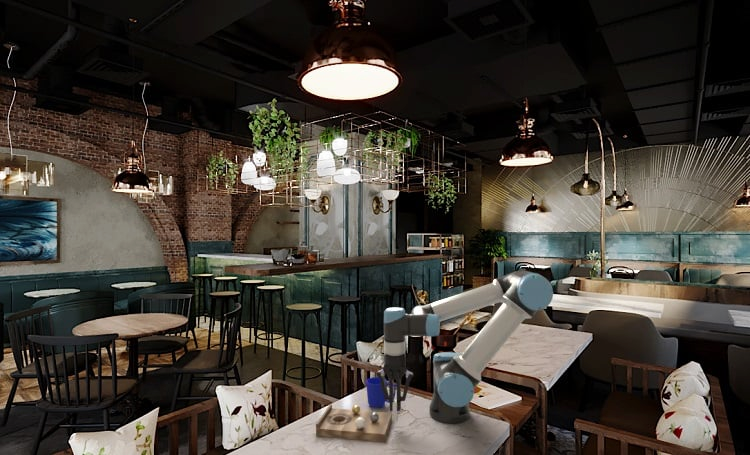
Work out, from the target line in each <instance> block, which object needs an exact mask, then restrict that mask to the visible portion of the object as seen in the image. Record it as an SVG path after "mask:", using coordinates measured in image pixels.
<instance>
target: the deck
mask: <svg viewBox="0 0 750 455" xmlns="http://www.w3.org/2000/svg"><path fill="white" fill-rule="evenodd" d="M374 412H375V413H377V414H378V415H379V420H378V421H377V422H372V421H371V420H370V415H371V414H372V413H374ZM359 417H361V418H363V419H364V420H365V426H364V427H363V428H361V429H359V428H357V427H356V425H355V421H356V419H357V418H359ZM392 422H393V412H385V411H383V412H382V411H373V410H372V411H368V410H360V412H359V413H358V414H354V413H353V412H352V409H347V408H346V409H345V408H334V407H333V404H332V403H331V404H328V406H327V408H326V409H325V411H324V412H323V413H322V415H321V417H320V418H319V419H318V421H317V422H316V423H315V436H316V437H327V438H338V439H349V440H358V441H359V440H360V441H361V440H362V441H371V442H380V443H381V442H383V443H385V442H386V439H387V436H388V433H389V430H390V427H391V424H392Z"/></svg>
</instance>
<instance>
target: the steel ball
mask: <svg viewBox="0 0 750 455" xmlns="http://www.w3.org/2000/svg"><path fill="white" fill-rule="evenodd" d="M373 412H374V413H372V414H371V415H370V420H371V421H372V422H377V421H378V420H379V415H378V414H377V413H375V412H376V411H373Z"/></svg>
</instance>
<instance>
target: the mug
mask: <svg viewBox="0 0 750 455" xmlns="http://www.w3.org/2000/svg"><path fill="white" fill-rule="evenodd" d="M365 381H366V382H365V383H366V384H365V385H366V393H367V394H366V396H367V403H368V404H367V405H368V406H369V407H370V408H373V409H380V408H381V409H382V408H383V407H385V404H386V403H389V404H390V402H389V401H388V400H385V399H384V395H383V391H382V387H381V383H380V379H379V377H378V376H376V377H375V376H374V377H370V378H367V379H366V380H365ZM385 382H386V386H387V387H388V386H389V382H387V379H386V378H385ZM396 393H397V385H396V383H394V399H395V397H396Z"/></svg>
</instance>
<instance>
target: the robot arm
mask: <svg viewBox="0 0 750 455" xmlns="http://www.w3.org/2000/svg"><path fill="white" fill-rule="evenodd" d="M553 298H554V291H553V286H552V284H551V282H550V281H549V280H548V279H547V278H546V277H544V276H543V275H541V274H540V273H537V272H532V271H529V270H517V271H513V272H510V273H507V274H505V275H503V276H500V277H498V278H495V279H493V282H491V283H488V284H485V285H482V286H479V287H475V288H473V289H471V290H470V289H469V290H466V291H463V292H461V293H459V294H455V295H453V296H449V297H447V298H443V299H440V300H437V301H434V302H432V303H428V304H425V305H416V306H414V307H413V309H412V310H411V313H406V310H405V308H403V307H388V308H386V309H385V310H384V311H383V351H384V354H383V358H384V360H383V367H382V368H381V370H380V369H378V370H377V373H376V377H379V379H380V383H381V387H382V391H383V395H384V399H385V400H388V401H389V402H390V403H389V411H390V412H391V411H392V422H393V423H394V422H398V419H399V412H401V408H402V405H401V404H402V402H405V401H406V399H407V394H408V390H409V386H410V382H411V380H412V378H413V377H414V372H413V371H409V370H408V368H407V366H406V364H407V363H406V362H407V361H406V337H429V338H431V337H438V336H439V335H440V328H441V322H443V321H446V320H449V319H452V318H456V317H459V316H461V315H464V314H467V313H471V312H474V311H477V310H480V309H483V308H486V307H490V306H491V305H495V304H498V303H502V304H501V305H500V306H499V308H498V309H496V312H494V314H493V315H492V316H491V318H490V319H489V320H488V321H487V323H486V324H485V325H484V326H483V328H481V330H480V331H479V332H478V334H477V335H476V336H475V337H474V338H473V340H472V341H471V342H470V343H469V345H468V346H467V347H466V348H465V349H464V351H463V352H462V353H460V352H459V353H458V352H447V351H445V352H438V353H435V354H434V355H433V358H432V359H433V360H432V363H433V395H432V397H431V402H430V405H429V415H430V417H431V418H432V419H434V420H435V421H438V422H441V423H445V424H459V423H464V422H466V421H468V420H469V419H470V415H471V412H470V411H471V410H470V406H469V404H470V403H471V402H472V400H473V399H474V395H475V389H476V388H477V386H478V385H479V384H480V382H481V381H482V372H483V371H484V369H486V367H487V366H488V364H490V362H491V361H492V360H493V359H494V357H495V356H496V355H497V354H498V353H499V351H500V350H501V349H502V347H503V346H504V345H505V344H506V343H507V341H508V340H509V338H511V336H512V335H513V334H514V333H515V331H516V330H517V329H518V327H520V325H521V324H522V322H524V320H526V319H532V318H533V317H534V316H535V314H536V313H537V312H538V311H541V310H544V309H546V308H547V307H549V305H550V304H551V303H552V301H553ZM385 375H386V377H387V378H388V383H389V385H388V386H389V388H388V386H386V382H385V379H386V378H385ZM404 376H405V378H406V380H405V384H404V387H403V392H402V379H403V377H404ZM394 380H396V383H394ZM394 384H396V399H395V398H394Z"/></svg>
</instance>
